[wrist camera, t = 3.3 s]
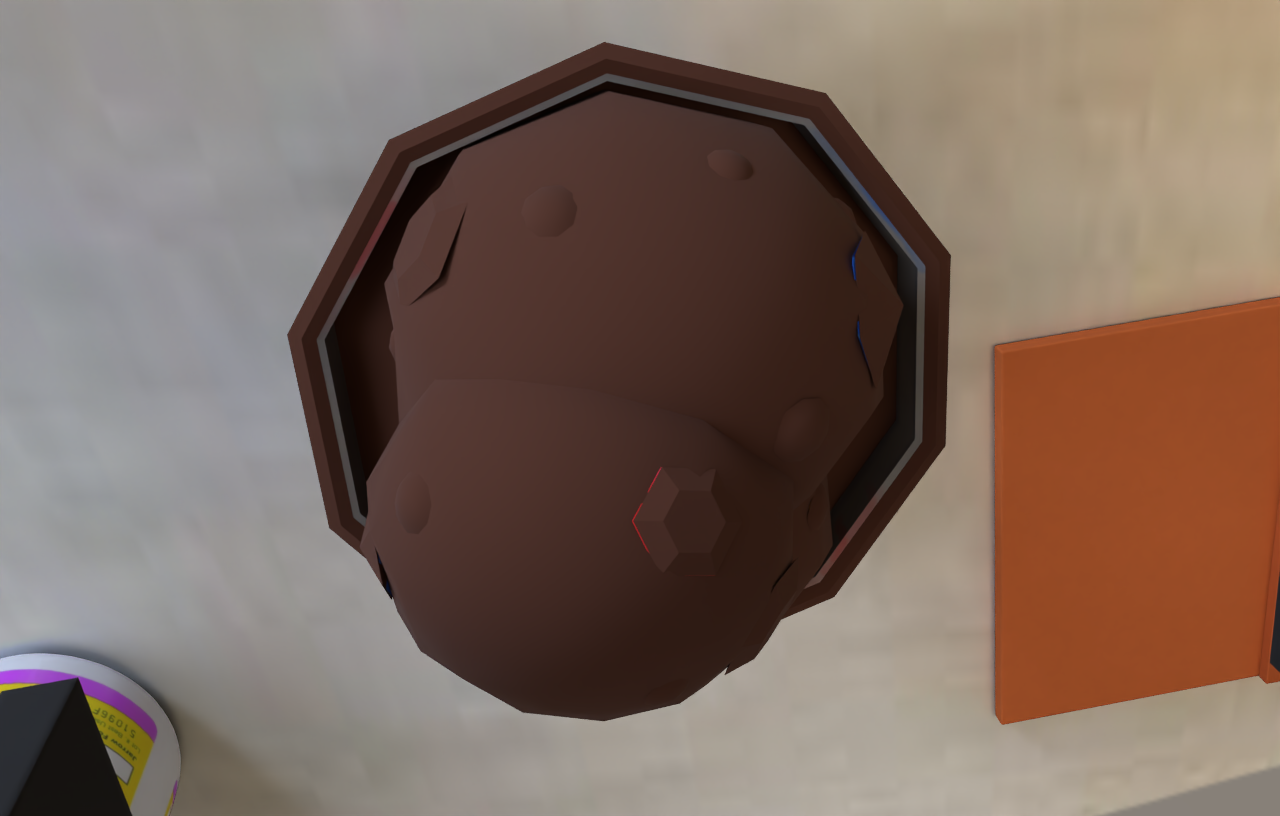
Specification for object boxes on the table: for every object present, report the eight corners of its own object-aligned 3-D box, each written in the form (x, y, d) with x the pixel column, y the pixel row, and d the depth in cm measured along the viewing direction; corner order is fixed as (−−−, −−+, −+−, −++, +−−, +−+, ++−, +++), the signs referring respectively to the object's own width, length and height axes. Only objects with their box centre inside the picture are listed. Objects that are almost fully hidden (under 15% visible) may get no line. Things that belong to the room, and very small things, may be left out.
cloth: (993, 345, 31) (1007, 357, 30) (1571, 246, 32) (1601, 255, 31) (994, 714, 36) (1006, 734, 35) (1494, 619, 37) (1517, 636, 36)
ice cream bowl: (750, 472, 31) (966, 926, 18) (315, 403, 29) (176, 866, 15) (871, 64, 27) (1268, 242, 14) (380, -53, 25) (272, 22, 11)
